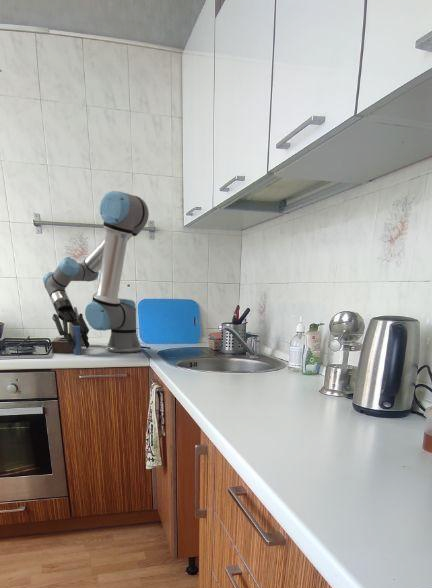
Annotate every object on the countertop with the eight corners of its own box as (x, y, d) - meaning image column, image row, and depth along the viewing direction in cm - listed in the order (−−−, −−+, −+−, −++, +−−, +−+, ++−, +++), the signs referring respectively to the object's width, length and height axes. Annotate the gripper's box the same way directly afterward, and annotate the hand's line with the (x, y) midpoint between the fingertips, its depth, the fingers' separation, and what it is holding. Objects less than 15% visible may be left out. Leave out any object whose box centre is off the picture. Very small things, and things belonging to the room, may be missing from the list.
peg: (82, 353, 208) (80, 325, 204) (81, 354, 205) (79, 326, 201) (74, 353, 208) (72, 325, 203) (73, 354, 205) (71, 326, 200)
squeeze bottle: (82, 346, 226) (79, 308, 220) (66, 345, 228) (63, 307, 221) (89, 344, 234) (86, 307, 227) (73, 343, 235) (70, 306, 228)
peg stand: (76, 348, 222) (75, 337, 220) (72, 353, 208) (71, 341, 206) (57, 347, 221) (56, 337, 219) (52, 353, 207) (51, 341, 205)
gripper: (79, 309, 216) (98, 350, 211) (39, 310, 205) (58, 353, 200) (84, 298, 211) (103, 340, 205) (43, 298, 199) (62, 342, 194)
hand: (81, 346), depth 203 cm, fingers open, 6 cm apart
